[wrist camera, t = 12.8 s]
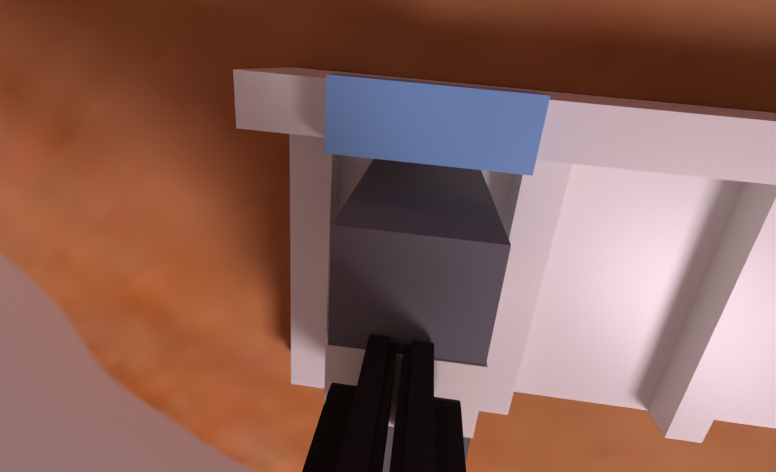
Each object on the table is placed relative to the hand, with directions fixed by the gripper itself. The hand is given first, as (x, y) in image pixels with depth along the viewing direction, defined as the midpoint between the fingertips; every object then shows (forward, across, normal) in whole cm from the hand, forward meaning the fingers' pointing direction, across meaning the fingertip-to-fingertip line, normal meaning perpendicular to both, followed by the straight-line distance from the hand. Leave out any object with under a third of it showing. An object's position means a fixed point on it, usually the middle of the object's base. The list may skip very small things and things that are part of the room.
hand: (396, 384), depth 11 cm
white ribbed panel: (+8, -8, -1) cm, 11 cm away
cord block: (+7, 0, 0) cm, 7 cm away
